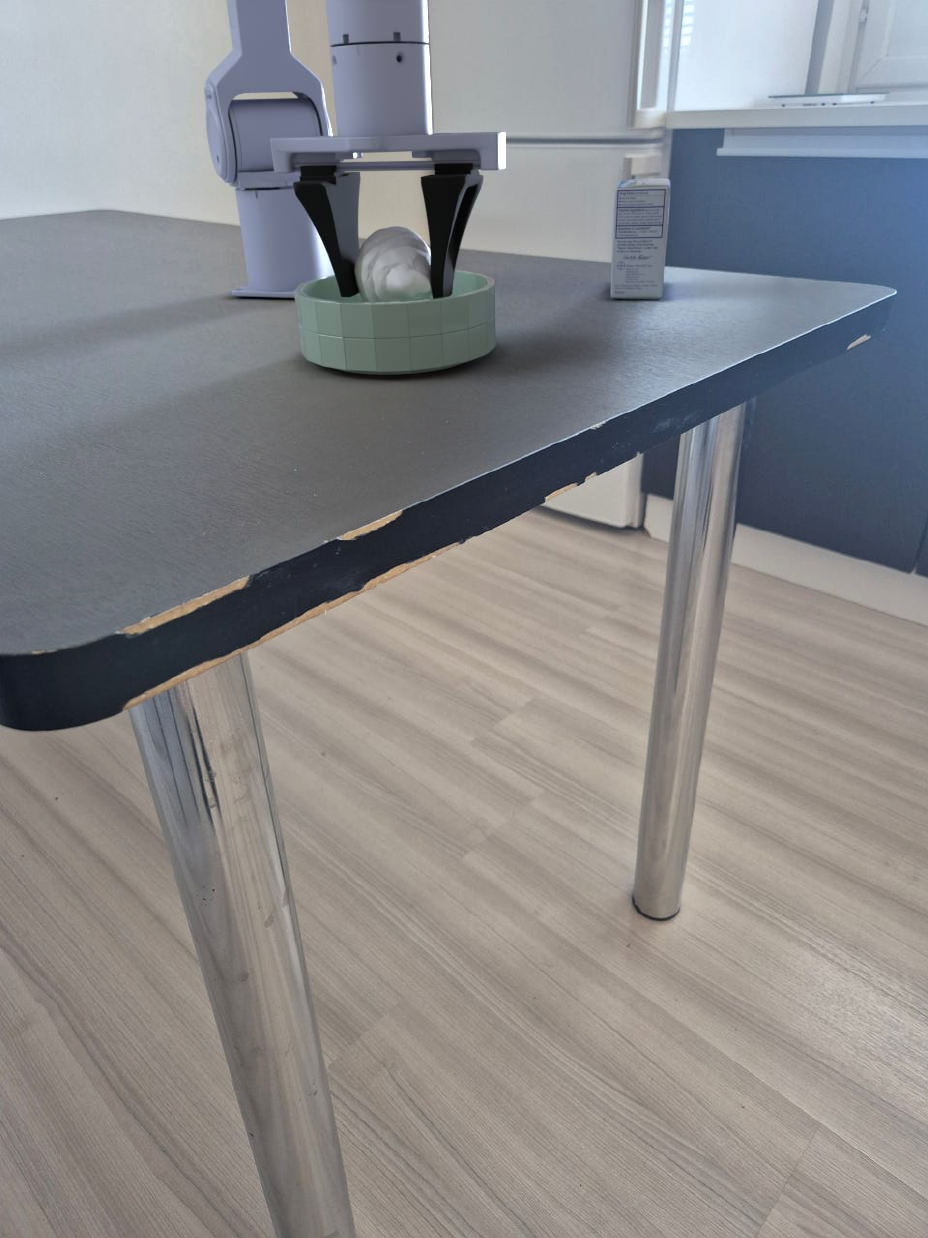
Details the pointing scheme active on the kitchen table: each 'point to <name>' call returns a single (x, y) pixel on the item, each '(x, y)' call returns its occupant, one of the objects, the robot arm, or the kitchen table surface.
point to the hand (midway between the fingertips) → (395, 295)
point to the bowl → (396, 327)
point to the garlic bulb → (393, 267)
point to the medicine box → (639, 238)
